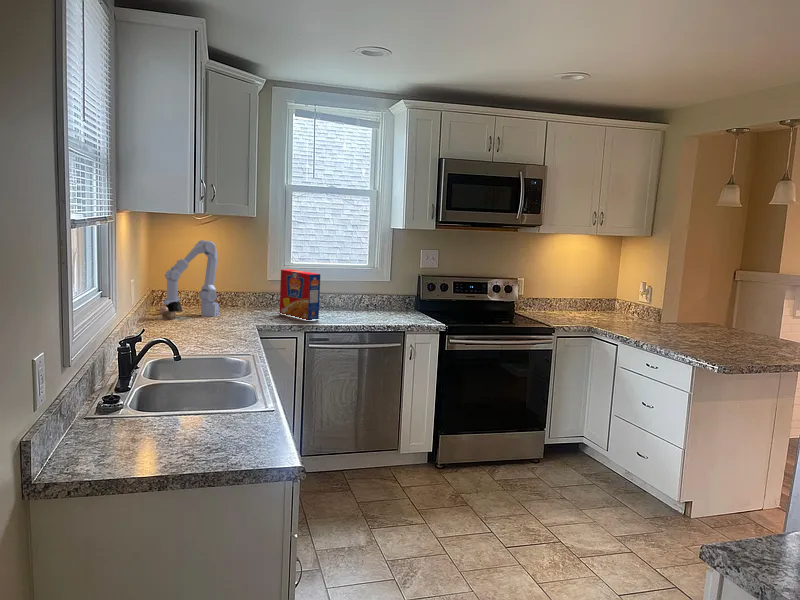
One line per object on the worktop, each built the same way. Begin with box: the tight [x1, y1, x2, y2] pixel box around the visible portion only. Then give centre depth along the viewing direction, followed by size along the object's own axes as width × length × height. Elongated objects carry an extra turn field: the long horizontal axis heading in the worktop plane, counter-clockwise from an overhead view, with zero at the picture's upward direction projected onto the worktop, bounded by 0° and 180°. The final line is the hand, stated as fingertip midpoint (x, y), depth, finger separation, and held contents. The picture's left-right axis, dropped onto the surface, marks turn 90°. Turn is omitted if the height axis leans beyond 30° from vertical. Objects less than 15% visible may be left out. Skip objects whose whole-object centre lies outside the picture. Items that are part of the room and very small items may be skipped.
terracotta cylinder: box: [158, 306, 168, 316], centre depth 344 cm, size 5×5×5 cm
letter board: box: [155, 315, 193, 322], centre depth 334 cm, size 16×12×1 cm
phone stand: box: [165, 301, 183, 313], centre depth 358 cm, size 9×6×12 cm, turn 90°
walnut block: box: [161, 311, 176, 321], centre depth 329 cm, size 5×5×4 cm
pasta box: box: [279, 269, 321, 320], centre depth 362 cm, size 28×8×28 cm, turn 47°
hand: (172, 315), depth 333 cm, fingers closed
